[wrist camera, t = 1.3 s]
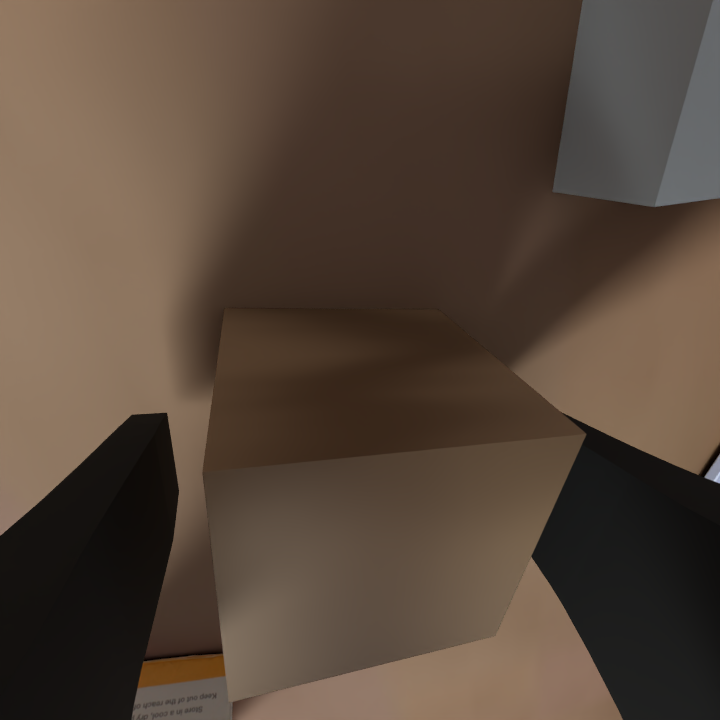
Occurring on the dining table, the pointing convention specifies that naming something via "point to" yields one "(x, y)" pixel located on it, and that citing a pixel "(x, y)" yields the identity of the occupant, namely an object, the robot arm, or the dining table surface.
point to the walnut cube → (368, 489)
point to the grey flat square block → (643, 103)
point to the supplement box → (183, 689)
